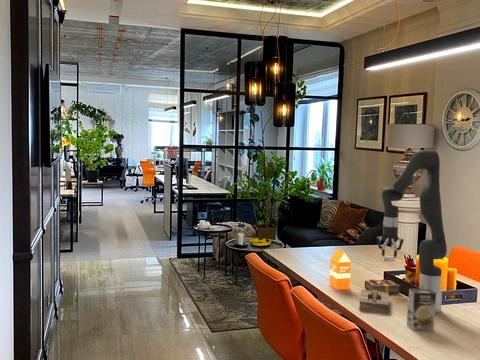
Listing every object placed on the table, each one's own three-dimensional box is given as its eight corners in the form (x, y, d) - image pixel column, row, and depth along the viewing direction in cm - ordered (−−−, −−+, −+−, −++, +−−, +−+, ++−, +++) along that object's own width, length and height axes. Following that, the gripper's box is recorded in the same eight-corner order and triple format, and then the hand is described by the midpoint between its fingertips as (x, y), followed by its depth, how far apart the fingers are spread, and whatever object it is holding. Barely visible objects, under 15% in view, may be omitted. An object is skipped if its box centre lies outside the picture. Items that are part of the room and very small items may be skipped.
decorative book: (364, 288, 255) (364, 279, 254) (392, 287, 257) (392, 278, 257) (372, 294, 244) (373, 285, 243) (402, 294, 246) (402, 284, 246)
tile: (384, 259, 255) (384, 255, 255) (393, 260, 253) (393, 256, 254) (384, 260, 245) (384, 257, 245) (394, 261, 244) (394, 257, 244)
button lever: (372, 299, 233) (372, 290, 234) (376, 299, 233) (376, 290, 233) (372, 302, 224) (372, 292, 225) (376, 302, 224) (376, 293, 224)
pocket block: (360, 297, 238) (361, 289, 238) (388, 300, 234) (388, 292, 234) (359, 310, 219) (359, 301, 219) (388, 313, 216) (389, 304, 215)
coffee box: (412, 331, 195) (414, 293, 194) (406, 325, 202) (408, 288, 201) (434, 331, 196) (436, 293, 194) (427, 325, 202) (429, 288, 201)
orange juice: (336, 289, 250) (338, 252, 248) (329, 284, 258) (330, 248, 257) (349, 288, 252) (351, 251, 250) (342, 284, 260) (343, 248, 259)
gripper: (404, 225, 253) (402, 256, 254) (376, 223, 257) (375, 254, 258) (405, 227, 245) (403, 259, 247) (376, 225, 249) (375, 257, 251)
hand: (389, 256), depth 252 cm, fingers closed on tile, 5 cm apart
